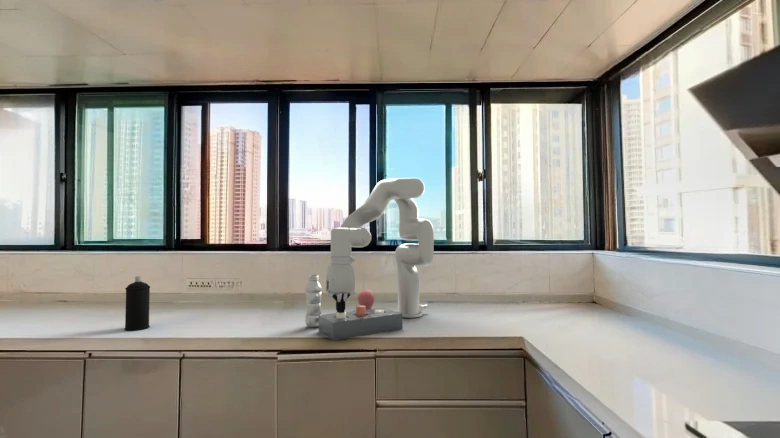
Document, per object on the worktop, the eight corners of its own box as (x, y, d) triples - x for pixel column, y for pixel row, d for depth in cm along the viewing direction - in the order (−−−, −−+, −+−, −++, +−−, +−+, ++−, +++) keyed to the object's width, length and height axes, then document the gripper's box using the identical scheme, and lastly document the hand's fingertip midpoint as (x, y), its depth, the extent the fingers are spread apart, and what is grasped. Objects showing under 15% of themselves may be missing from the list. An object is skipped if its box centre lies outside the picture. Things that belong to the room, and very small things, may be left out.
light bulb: (354, 319, 162) (354, 291, 162) (362, 316, 169) (362, 288, 169) (370, 321, 159) (370, 291, 160) (377, 317, 166) (377, 289, 166)
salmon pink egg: (363, 320, 146) (362, 305, 146) (367, 322, 143) (367, 306, 143) (354, 322, 144) (354, 306, 145) (358, 324, 141) (358, 307, 142)
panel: (383, 322, 157) (383, 307, 157) (402, 329, 145) (402, 313, 145) (318, 331, 142) (318, 315, 143) (333, 340, 130) (333, 322, 131)
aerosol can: (154, 327, 151) (155, 275, 151) (132, 332, 143) (134, 278, 144) (141, 325, 154) (142, 275, 155) (119, 329, 147) (120, 277, 147)
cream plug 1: (343, 327, 142) (343, 310, 142) (347, 329, 139) (347, 312, 139) (334, 328, 140) (334, 311, 140) (338, 330, 137) (338, 313, 137)
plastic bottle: (318, 329, 146) (318, 276, 147) (302, 328, 147) (302, 276, 148) (324, 325, 152) (325, 274, 153) (308, 324, 154) (309, 274, 154)
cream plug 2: (381, 324, 150) (381, 309, 150) (385, 326, 147) (385, 311, 147) (373, 326, 148) (373, 310, 149) (377, 328, 145) (377, 312, 146)
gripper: (355, 260, 148) (354, 308, 147) (317, 261, 140) (317, 312, 139) (363, 261, 141) (363, 311, 140) (325, 262, 133) (325, 316, 133)
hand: (340, 312), depth 140 cm, fingers closed
